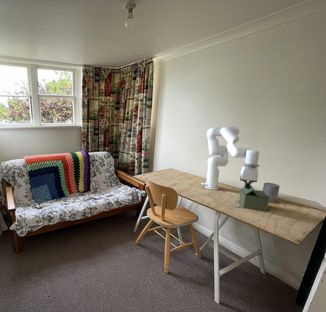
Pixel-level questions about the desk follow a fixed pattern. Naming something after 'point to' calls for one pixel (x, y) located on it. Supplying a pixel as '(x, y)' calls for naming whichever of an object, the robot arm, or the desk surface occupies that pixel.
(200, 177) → the desk surface
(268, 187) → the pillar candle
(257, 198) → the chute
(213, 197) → the desk surface
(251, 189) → the flap
